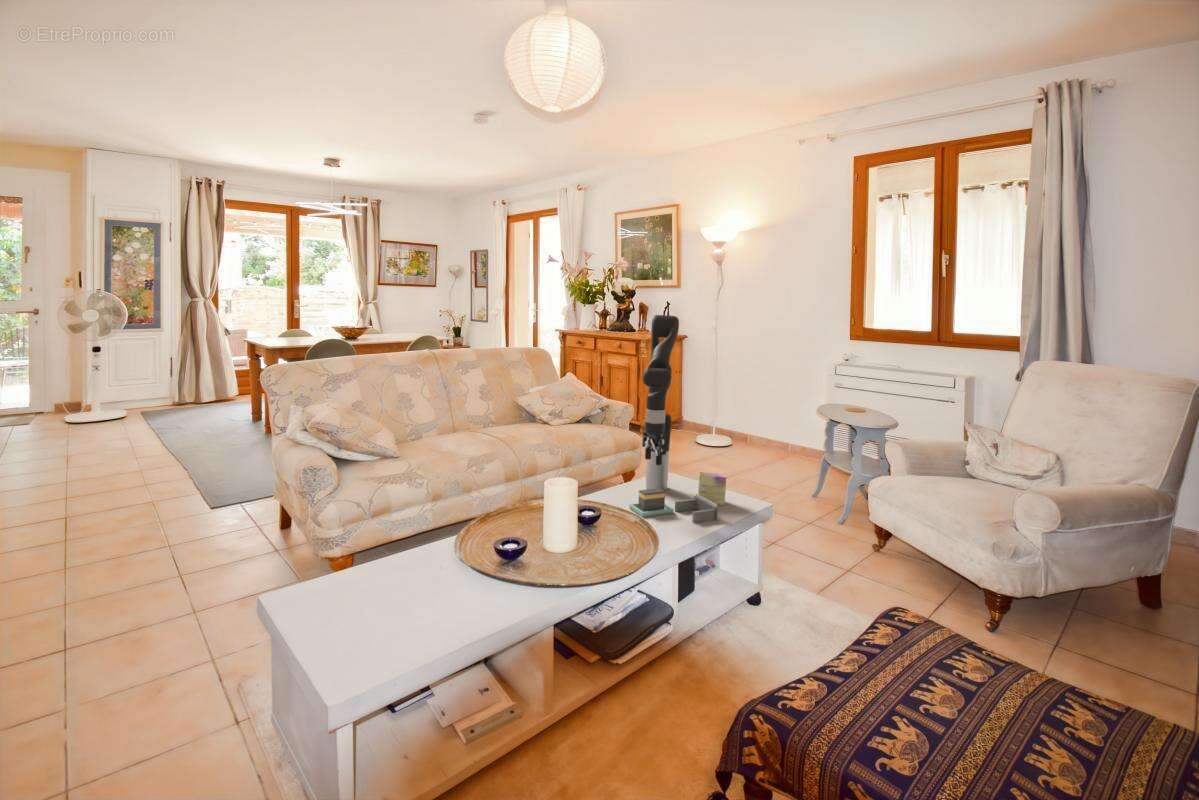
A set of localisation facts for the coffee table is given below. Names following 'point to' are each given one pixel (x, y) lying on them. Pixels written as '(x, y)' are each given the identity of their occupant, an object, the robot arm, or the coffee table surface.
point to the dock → (698, 508)
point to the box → (712, 487)
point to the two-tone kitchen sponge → (651, 499)
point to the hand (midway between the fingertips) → (653, 461)
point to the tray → (664, 511)
